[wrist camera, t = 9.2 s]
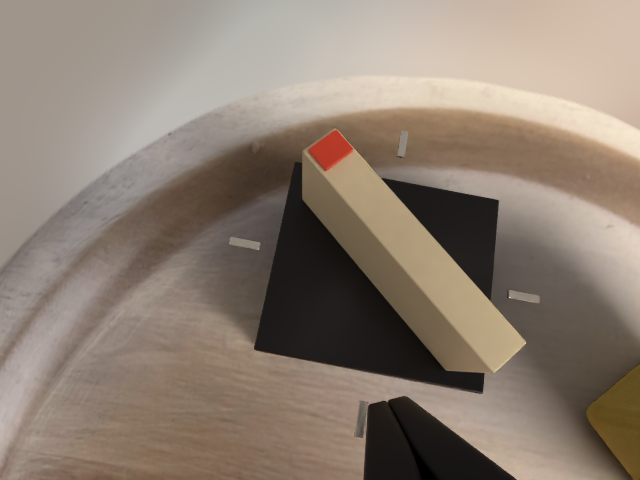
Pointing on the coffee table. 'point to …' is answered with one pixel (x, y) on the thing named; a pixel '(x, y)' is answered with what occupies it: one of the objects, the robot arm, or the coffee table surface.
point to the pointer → (404, 260)
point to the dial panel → (368, 288)
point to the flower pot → (620, 420)
